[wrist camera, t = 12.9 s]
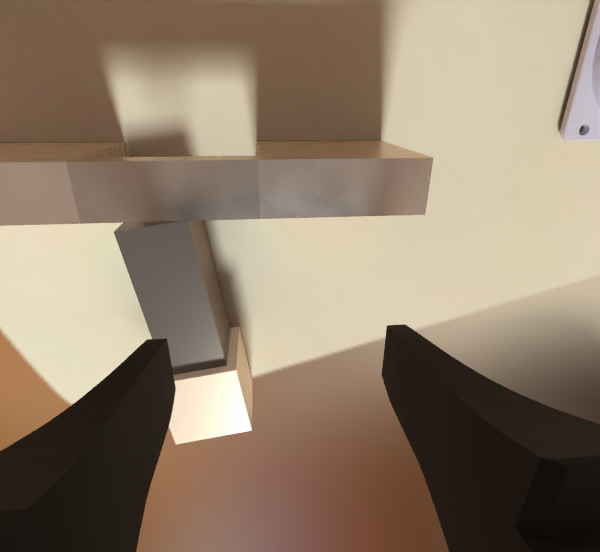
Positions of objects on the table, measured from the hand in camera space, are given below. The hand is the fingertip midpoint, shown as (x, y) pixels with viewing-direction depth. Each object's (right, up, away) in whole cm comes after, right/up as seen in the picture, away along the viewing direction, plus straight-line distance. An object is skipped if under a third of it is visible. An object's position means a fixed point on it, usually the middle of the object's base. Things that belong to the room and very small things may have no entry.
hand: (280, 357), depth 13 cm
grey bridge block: (-4, +8, +6) cm, 11 cm away
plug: (-5, +1, +9) cm, 10 cm away
